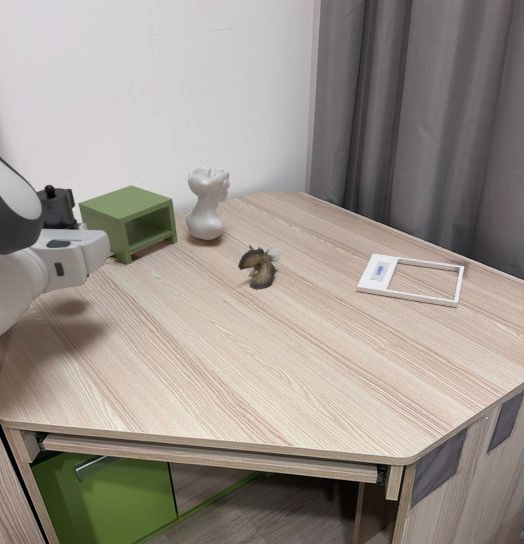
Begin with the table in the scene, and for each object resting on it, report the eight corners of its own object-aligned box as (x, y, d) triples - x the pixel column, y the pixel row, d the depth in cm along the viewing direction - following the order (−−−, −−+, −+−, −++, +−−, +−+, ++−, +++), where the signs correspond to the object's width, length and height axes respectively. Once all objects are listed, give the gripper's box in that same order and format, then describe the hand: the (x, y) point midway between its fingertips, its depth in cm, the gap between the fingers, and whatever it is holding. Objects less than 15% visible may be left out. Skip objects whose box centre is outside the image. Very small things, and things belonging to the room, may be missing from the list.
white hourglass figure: (180, 240, 121) (172, 173, 112) (212, 223, 128) (207, 159, 119) (212, 250, 116) (206, 181, 107) (244, 232, 123) (241, 167, 115)
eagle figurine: (238, 260, 109) (228, 274, 101) (257, 232, 106) (249, 243, 98) (269, 282, 110) (262, 296, 102) (288, 254, 107) (283, 267, 99)
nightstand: (88, 246, 119) (78, 203, 113) (138, 226, 128) (131, 185, 122) (127, 264, 112) (118, 219, 106) (177, 242, 120) (172, 198, 114)
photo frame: (373, 252, 111) (464, 265, 105) (372, 257, 112) (463, 270, 106) (357, 285, 100) (458, 301, 94) (356, 290, 101) (456, 307, 95)
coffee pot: (81, 286, 92) (59, 192, 82) (48, 284, 93) (21, 191, 83) (101, 260, 100) (82, 171, 90) (69, 259, 100) (47, 171, 91)
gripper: (-36, 281, 82) (8, 242, 93) (94, 286, 80) (123, 245, 91) (-51, 242, 78) (-3, 207, 89) (86, 246, 76) (116, 210, 87)
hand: (61, 226), depth 90 cm, fingers closed on coffee pot, 6 cm apart
